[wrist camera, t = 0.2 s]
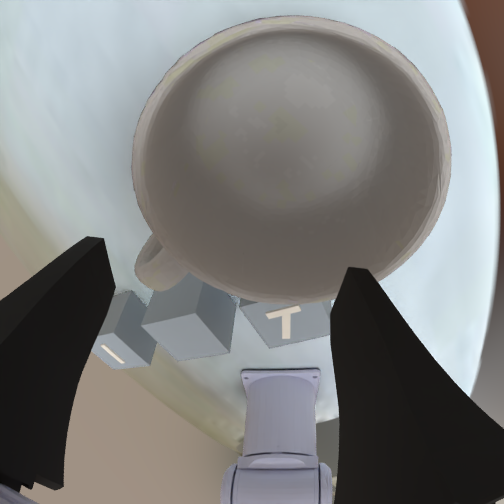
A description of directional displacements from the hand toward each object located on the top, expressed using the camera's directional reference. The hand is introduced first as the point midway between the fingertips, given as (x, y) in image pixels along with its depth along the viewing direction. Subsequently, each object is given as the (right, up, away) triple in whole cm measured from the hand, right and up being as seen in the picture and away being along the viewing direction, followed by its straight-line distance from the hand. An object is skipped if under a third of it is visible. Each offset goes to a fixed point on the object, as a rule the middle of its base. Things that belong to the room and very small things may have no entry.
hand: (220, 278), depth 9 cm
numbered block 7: (+3, -1, +13) cm, 13 cm away
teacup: (+1, +7, +7) cm, 10 cm away
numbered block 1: (-10, -5, +17) cm, 21 cm away
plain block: (-3, -2, +15) cm, 16 cm away
